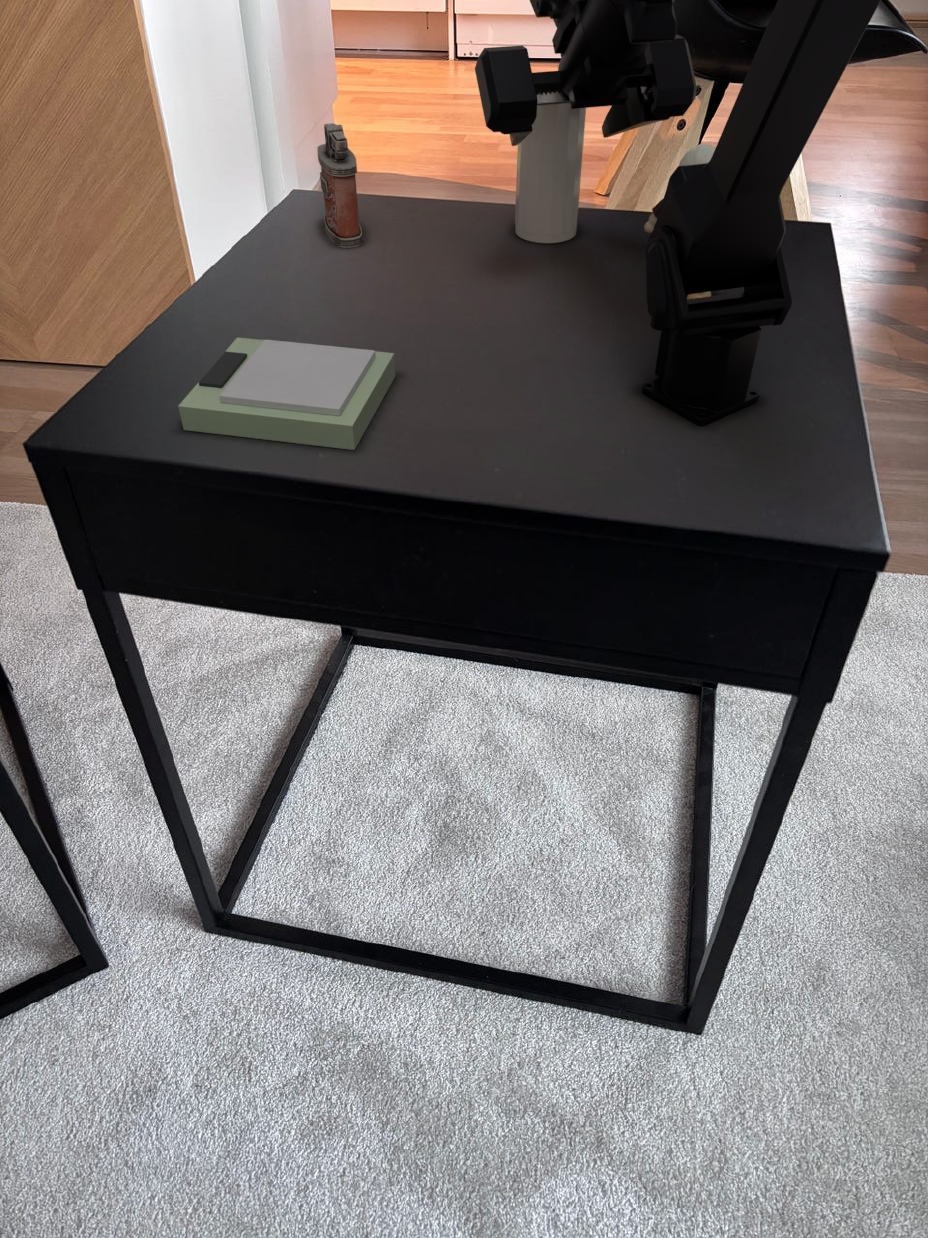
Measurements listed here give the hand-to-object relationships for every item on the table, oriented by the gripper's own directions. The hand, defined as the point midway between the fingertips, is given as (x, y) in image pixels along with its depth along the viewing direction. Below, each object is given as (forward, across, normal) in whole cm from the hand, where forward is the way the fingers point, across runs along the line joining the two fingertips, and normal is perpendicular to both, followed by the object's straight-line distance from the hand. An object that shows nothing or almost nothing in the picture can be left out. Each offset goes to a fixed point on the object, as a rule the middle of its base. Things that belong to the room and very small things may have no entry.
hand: (558, 136), depth 89 cm
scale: (-11, +30, +25) cm, 40 cm away
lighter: (+12, +20, +2) cm, 24 cm away
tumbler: (+8, 0, +5) cm, 10 cm away
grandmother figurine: (-4, -6, +18) cm, 20 cm away
